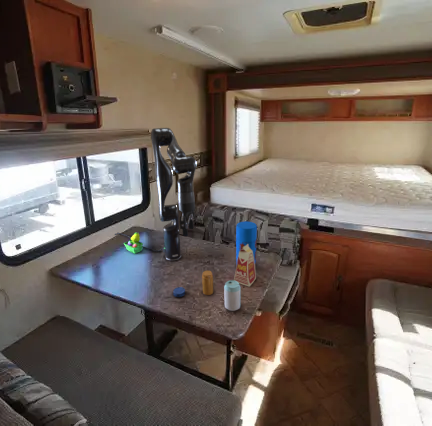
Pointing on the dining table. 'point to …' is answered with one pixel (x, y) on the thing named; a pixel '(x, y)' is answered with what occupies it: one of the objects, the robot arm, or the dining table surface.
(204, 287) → the jar
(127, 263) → the dining table surface
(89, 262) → the dining table surface
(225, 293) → the can
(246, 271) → the milk carton
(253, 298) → the dining table surface
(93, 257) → the dining table surface
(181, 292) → the jar lid
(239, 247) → the thermos
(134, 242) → the fruit basket
